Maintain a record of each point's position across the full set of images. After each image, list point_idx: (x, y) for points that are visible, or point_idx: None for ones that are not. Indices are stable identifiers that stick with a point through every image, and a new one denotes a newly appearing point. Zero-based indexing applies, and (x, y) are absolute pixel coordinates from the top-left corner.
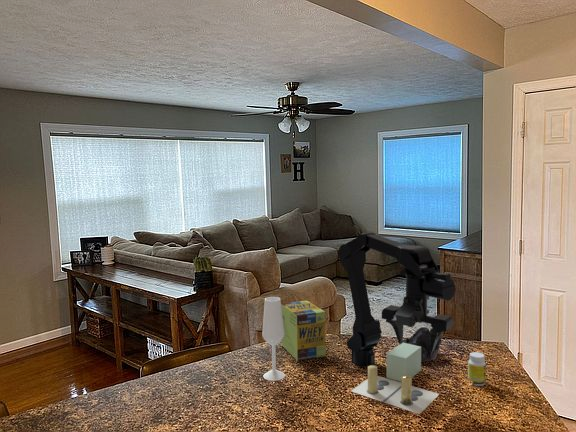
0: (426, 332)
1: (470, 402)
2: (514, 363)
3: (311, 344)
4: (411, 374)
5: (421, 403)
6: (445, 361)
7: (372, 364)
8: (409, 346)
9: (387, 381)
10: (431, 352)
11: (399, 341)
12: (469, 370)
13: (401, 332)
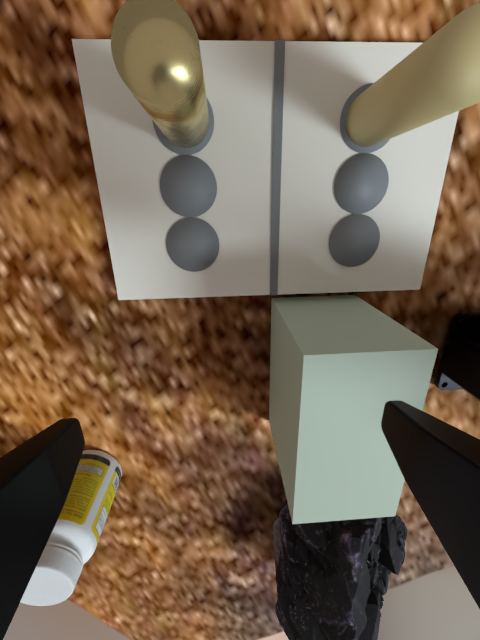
0: (334, 636)
1: (25, 337)
2: (84, 608)
3: None
4: (275, 363)
5: (127, 163)
6: (241, 528)
7: (452, 358)
8: (346, 497)
9: (344, 265)
10: (285, 541)
11: (412, 413)
12: (89, 494)
13: (469, 534)
